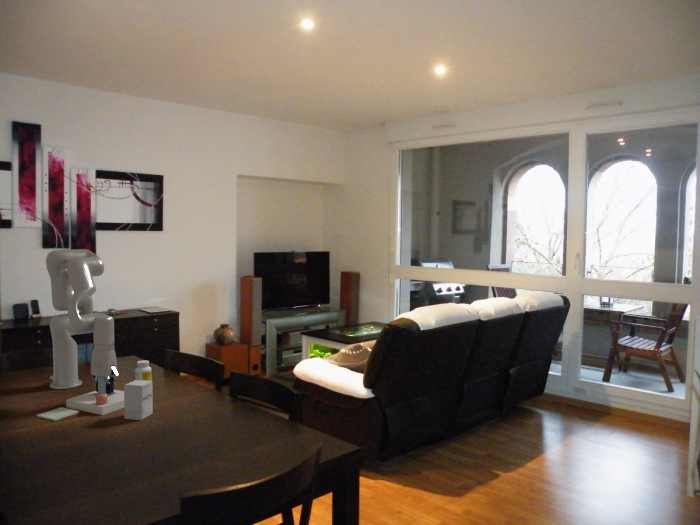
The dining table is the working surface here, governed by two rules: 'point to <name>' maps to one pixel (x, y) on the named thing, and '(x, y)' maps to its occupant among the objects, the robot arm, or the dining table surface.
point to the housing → (89, 404)
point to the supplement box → (138, 399)
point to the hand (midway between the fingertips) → (104, 391)
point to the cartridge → (102, 385)
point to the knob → (101, 398)
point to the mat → (57, 413)
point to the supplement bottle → (143, 371)
